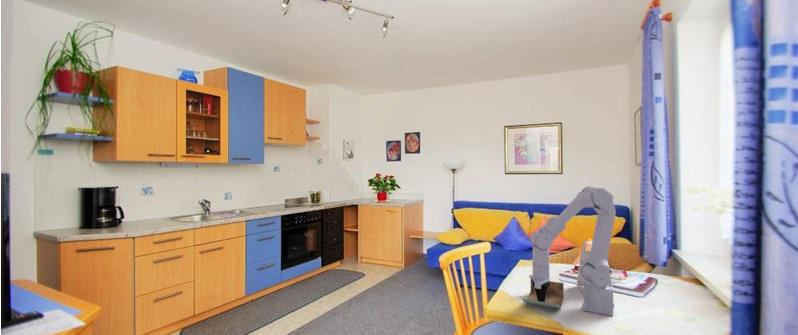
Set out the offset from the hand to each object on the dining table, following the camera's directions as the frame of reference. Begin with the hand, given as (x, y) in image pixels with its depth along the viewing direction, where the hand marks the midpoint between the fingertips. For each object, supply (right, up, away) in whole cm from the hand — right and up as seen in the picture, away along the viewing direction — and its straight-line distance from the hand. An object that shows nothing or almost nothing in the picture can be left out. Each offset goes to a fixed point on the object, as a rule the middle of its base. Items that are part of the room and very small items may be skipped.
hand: (541, 302), depth 131 cm
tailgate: (+2, -1, +3) cm, 3 cm away
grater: (+29, -2, +17) cm, 34 cm away
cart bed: (+4, -3, +8) cm, 9 cm away
